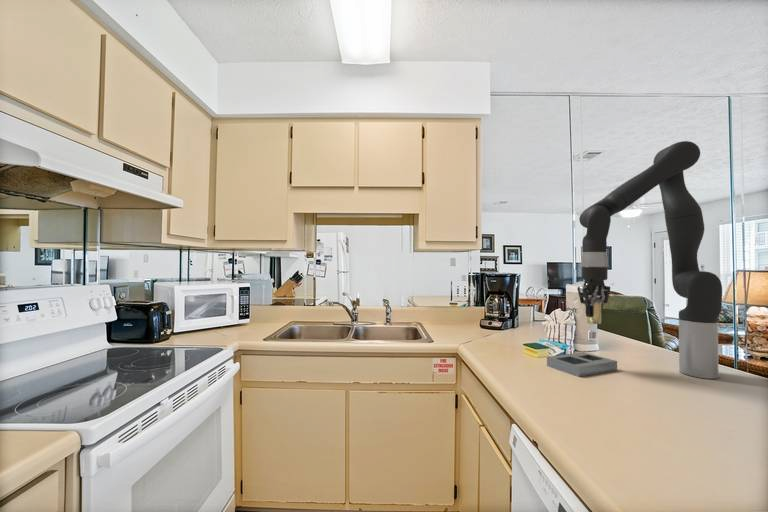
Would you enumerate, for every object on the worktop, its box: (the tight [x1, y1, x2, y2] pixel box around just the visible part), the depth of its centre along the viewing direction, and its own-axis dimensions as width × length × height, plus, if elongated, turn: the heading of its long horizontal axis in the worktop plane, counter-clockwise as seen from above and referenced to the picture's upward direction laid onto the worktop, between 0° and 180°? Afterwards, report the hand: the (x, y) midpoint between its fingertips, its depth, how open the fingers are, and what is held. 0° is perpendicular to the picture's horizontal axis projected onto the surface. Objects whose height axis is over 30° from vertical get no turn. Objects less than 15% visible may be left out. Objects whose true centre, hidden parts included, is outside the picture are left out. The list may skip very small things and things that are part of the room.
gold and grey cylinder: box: [586, 299, 602, 325], centre depth 113 cm, size 4×4×8 cm
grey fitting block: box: [546, 351, 618, 377], centre depth 113 cm, size 18×12×3 cm, turn 112°
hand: (594, 316), depth 113 cm, fingers closed on gold and grey cylinder, 4 cm apart
